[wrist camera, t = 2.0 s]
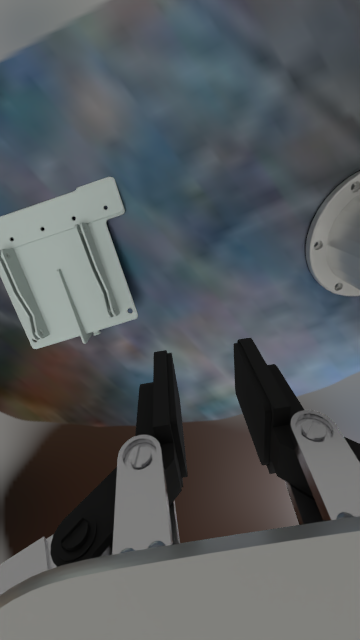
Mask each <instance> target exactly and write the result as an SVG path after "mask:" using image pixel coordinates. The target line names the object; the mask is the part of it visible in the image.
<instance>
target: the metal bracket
mask: <svg viewBox="0 0 360 640" xmlns="http://www.w3.org/2000/svg"><path fill="white" fill-rule="evenodd" d="M104 206H107V207H108V209H107V210H105V209H104ZM124 213H125V209H124V206H123V203H122V200H121V197H120V194H119V191H118V188H117V185H116V182H115V180H114V178H112V177H107V178H104V179H101V180H98V181H96V182H93V183H90V184H87V185H84V186H81V187H78V188H77V189H76V191H74V192H71V193H68V194H65V195H62V196H59V197H56V198H53V199H51V200H48V201H45V202H42V203H39V204H36V205H33V206H30V207H27V208H24V209H22V210H19V211H16V212H13V213H10V214H7V215H4V216H1V217H0V276H1V279H2V281H3V283H4V285H5V288H6V290H7V292H8V294H9V297H10V299H11V301H12V303H13V306H14V308H15V310H16V312H17V314H18V317H19V319H20V321H21V323H22V326H23V328H24V330H25V332H26V335H27V337H28V339H29V341H30V343H31V346H32V347H33V348H34V349H38V348H41V347H44V346H48V345H51V344H54V343H58V342H61V341H64V340H68V339H71V338H74V337H78V336H81V339H82V342H83V343H84V344H85V343H87V342H88V340H89V338H90V337H91V335H92V334H93V333H94V334H93V335H98V334H100V333H101V332H100V331H99V330H101V329H104V328H107V327H111V326H114V325H117V324H121V323H124V322H127V321H130V320H134V319H136V318H137V317H138V313H137V310H136V307H135V305H134V302H133V299H132V296H131V293H130V290H129V287H128V284H127V282H126V279H125V276H124V273H123V270H122V267H121V264H120V261H119V259H118V256H117V253H116V250H115V247H114V244H113V241H112V239H111V236H110V233H109V230H108V227H107V223H106V222H107V220H109V219H111V218H114V217H117V216H120V215H123V214H124ZM74 216H75V217H76V220H75V221H73V219H72V218H73V217H74ZM42 227H44V229H45V230H44V231H42V230H41V228H42ZM12 237H13V238H14V241H11V238H12ZM129 308H131V309H132V310H133V312H132V313H129V312H128V309H129ZM33 339H34V340H38V341H37V342H35V341H34V340H33Z"/></svg>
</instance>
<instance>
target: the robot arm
mask: <svg viewBox="0 0 360 640" xmlns="http://www.w3.org/2000/svg"><path fill="white" fill-rule="evenodd" d="M351 186H352V187H351ZM315 243H316V244H315ZM306 260H307V264H308V268H309V270H310V272H311V274H312V276H313V278H314V279H315V280H316V281H317V282H318V283H319V284H320V285H321V286H323V287H324V288H326V289H327V290H329V291H331V292H332V293H335V294H338V295H343V296H360V171H359V172H357V173H355V174H353V175H352V176H350V177H349V178H347V179H346V180H345V181H343V182H342V183H341V184H340V185H338V186H337V187H336V188H335V189H334V190H333V191H332V193H331V194H330V195H329V196H328V197H327V198H326V199H325V201H324V202H323V204H322V205H321V206H320V208H319V209H318V211H317V213H316V215H315V217H314V219H313V221H312V223H311V226H310V229H309V232H308V235H307V242H306ZM234 368H235V391H236V395H237V398H238V401H239V404H240V407H241V409H242V412H243V415H244V418H245V420H246V423H247V426H248V429H249V432H250V434H251V437H252V440H253V443H254V445H255V448H256V451H257V454H258V457H259V459H260V462H261V464H262V465H267V468H268V470H269V473H270V474H272V473H276V474H277V476H278V477H280V478H282V479H283V480H285V484H286V487H287V490H288V493H289V496H290V499H291V502H292V505H293V508H294V511H295V514H296V517H297V520H298V523H299V525H297V526H290V527H283V528H277V529H271V530H264V531H258V532H251V533H245V534H238V535H231V536H225V537H218V538H212V539H206V540H199V541H193V542H187V543H181V544H180V542H179V534H178V526H177V519H176V510H175V502H174V500H175V498H176V497H177V496H178V494H179V493H180V492H181V487H183V481H182V478H183V477H187V465H186V455H185V446H184V436H183V426H182V416H181V406H180V398H179V393H178V387H177V381H176V375H175V370H174V364H173V358H172V353H167V351H166V350H165V351H159V352H154V379H153V382H152V383H146V384H140V388H139V400H138V412H137V424H136V436H135V437H133V438H131V439H130V440H128V441H127V442H126V443H125V444H124V445H123V446H122V448H121V450H120V451H119V455H118V461H117V467H116V469H114V470H113V471H112V472H111V473H110V474H109V475H108V476H107V477H106V478H105V479H104V480H103V481H102V482H101V483H100V484H99V485H98V486H97V487H96V488H95V489H94V490H93V491H92V492H91V493H90V494H89V495H88V496H87V497H86V498H85V499H84V500H83V501H82V502H81V503H80V504H79V505H78V506H77V507H76V508H75V509H74V510H73V511H72V512H71V513H70V514H69V515H68V516H67V517H66V518H65V519H64V520H63V521H62V522H61V524H60V525H59V526H58V528H57V530H56V531H55V533H54V535H52V536H50V537H49V538H48V539H45V538H44V537H43V538H41V539H39V540H38V541H36V542H35V543H33V544H32V545H30V546H28V547H27V548H25V549H24V550H23V551H21V552H19V553H17V554H16V555H14V556H13V557H11V558H10V559H8V560H7V561H5V562H4V563H2V564H0V640H360V444H359V443H356V442H354V441H352V440H350V439H348V438H345V437H343V435H342V433H341V432H340V430H339V428H338V427H337V425H336V424H335V423H334V422H333V421H332V419H330V418H329V417H328V416H326V415H324V414H322V413H320V412H317V411H313V410H304V409H303V407H302V405H301V404H300V402H299V401H298V399H297V397H296V396H295V394H294V393H293V391H292V390H291V388H290V386H289V385H288V383H287V382H286V380H285V378H284V377H283V375H282V374H281V372H280V370H279V369H278V367H277V366H276V365H275V364H273V365H267V364H266V363H265V361H264V359H263V357H262V356H261V354H260V352H259V350H258V349H257V347H256V345H255V344H254V342H253V340H252V339H251V338H246V339H239V340H238V343H234Z"/></svg>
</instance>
